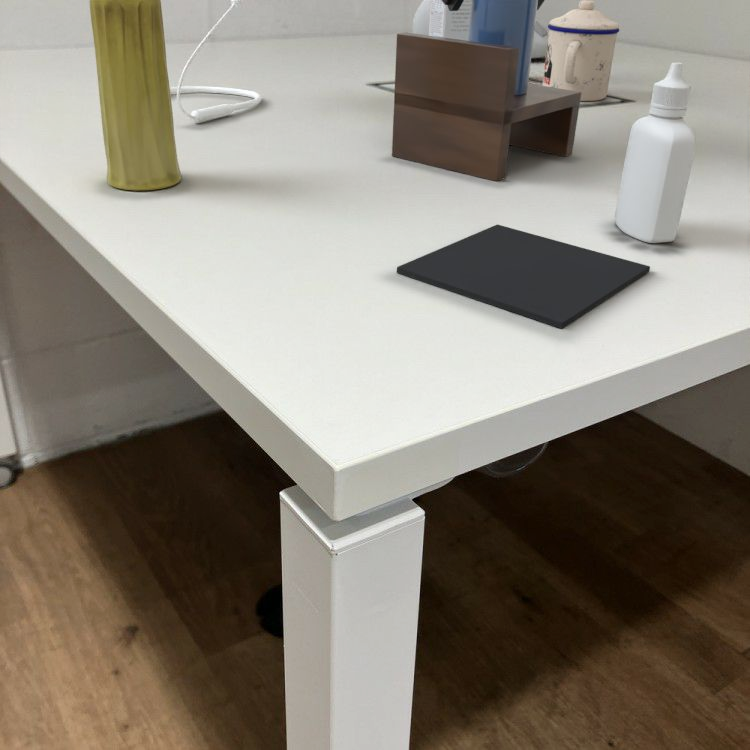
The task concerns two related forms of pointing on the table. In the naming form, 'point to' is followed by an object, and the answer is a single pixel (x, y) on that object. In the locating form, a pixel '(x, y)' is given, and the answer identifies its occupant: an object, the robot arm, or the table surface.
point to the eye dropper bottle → (657, 164)
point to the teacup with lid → (581, 52)
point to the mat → (526, 274)
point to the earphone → (214, 88)
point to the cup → (506, 30)
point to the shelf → (473, 107)
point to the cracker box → (449, 20)
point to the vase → (134, 94)
